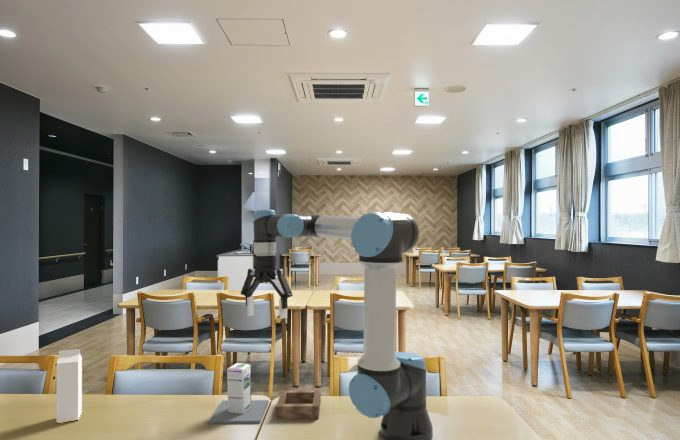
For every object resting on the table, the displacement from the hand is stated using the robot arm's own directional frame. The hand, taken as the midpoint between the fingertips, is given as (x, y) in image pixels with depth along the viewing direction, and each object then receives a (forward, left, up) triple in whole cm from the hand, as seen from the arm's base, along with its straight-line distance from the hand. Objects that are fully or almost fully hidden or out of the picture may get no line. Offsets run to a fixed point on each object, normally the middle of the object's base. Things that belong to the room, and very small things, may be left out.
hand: (266, 317), depth 149 cm
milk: (+49, +39, -30) cm, 70 cm away
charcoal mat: (+4, +9, -30) cm, 32 cm away
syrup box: (+4, +9, -30) cm, 31 cm away
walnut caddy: (-12, -2, -30) cm, 33 cm away
